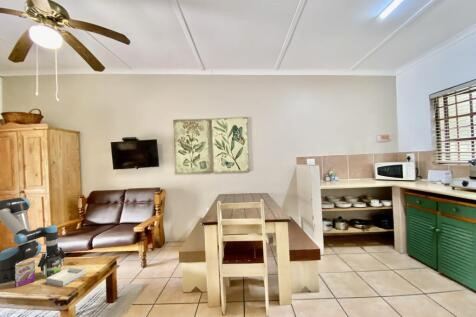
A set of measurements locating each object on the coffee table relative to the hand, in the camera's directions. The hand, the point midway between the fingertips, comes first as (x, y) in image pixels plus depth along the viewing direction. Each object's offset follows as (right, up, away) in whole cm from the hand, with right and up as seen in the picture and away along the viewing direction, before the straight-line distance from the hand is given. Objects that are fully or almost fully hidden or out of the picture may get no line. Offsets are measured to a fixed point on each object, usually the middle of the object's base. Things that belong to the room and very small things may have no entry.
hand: (52, 270), depth 186 cm
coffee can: (0, -4, 0) cm, 4 cm away
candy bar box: (-11, -4, -12) cm, 17 cm away
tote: (+17, -3, -7) cm, 19 cm away
